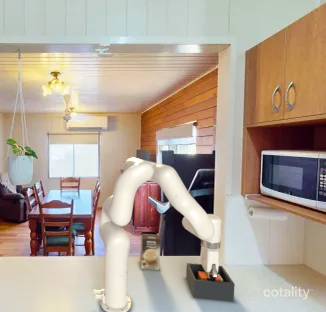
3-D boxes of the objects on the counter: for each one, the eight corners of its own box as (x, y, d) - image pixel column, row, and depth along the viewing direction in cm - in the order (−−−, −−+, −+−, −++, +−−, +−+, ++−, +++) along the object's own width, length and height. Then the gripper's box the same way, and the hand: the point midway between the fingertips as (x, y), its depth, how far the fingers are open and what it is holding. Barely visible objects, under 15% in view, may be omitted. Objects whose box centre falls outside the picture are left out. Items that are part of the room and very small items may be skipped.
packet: (200, 286, 106) (201, 277, 105) (197, 279, 111) (197, 271, 110) (222, 288, 104) (223, 279, 104) (218, 281, 109) (219, 272, 109)
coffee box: (141, 269, 123) (141, 238, 122) (139, 262, 130) (140, 233, 128) (159, 270, 123) (160, 239, 121) (157, 263, 129) (158, 234, 127)
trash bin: (193, 297, 102) (194, 280, 101) (186, 278, 116) (186, 263, 115) (233, 301, 100) (234, 284, 99) (221, 281, 113) (222, 265, 112)
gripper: (196, 234, 114) (194, 271, 116) (207, 252, 98) (205, 294, 100) (213, 235, 113) (211, 272, 115) (227, 253, 97) (225, 296, 99)
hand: (208, 282), depth 107 cm, fingers closed on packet, 5 cm apart
